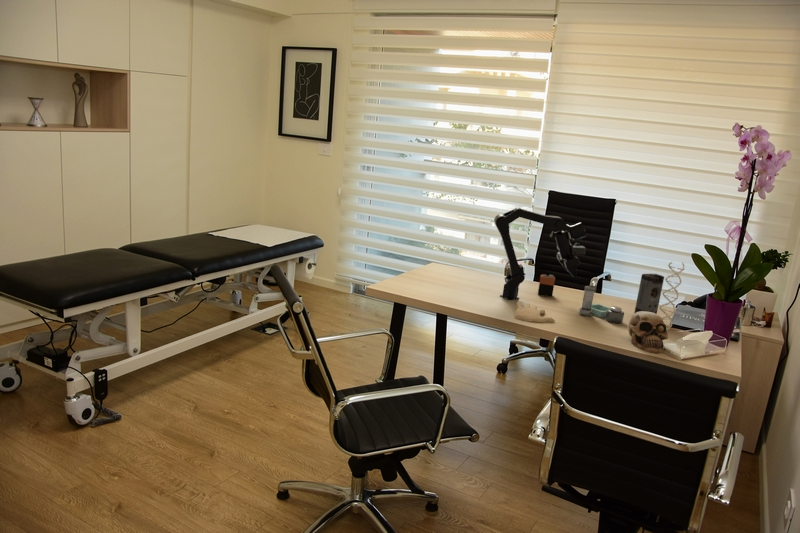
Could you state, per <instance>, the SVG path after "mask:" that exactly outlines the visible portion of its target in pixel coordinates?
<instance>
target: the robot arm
mask: <svg viewBox="0 0 800 533" xmlns="http://www.w3.org/2000/svg"><path fill="white" fill-rule="evenodd" d="M518 218H520V219H521V218H522V219H525V220H528V221H531V222H536V223H539V224H543V225H545V226H547V227H549V228H551V229H552V231H551V233H550V234H549V237H550V238H555V239H554V240H555V241H556V242H555V243H556V249H557V250H558V252H557V253H556V259H557V260H558V262H559V263H560V264H561V266H562V267H563V268H564V269H565V270H566V272H568V274H570V275H571V276H572V277H573V279H577V276H578V274H577V268H578V266H579V265H580V264H581V261H580V258H579V257H577V256H576V255H586V247H585V246H584V245H581V244H580V243H578V242H575V243H574V244H571V241H570V240H573V241H577V240H580V239H583V238H586V237H587V232H586V229H585V228H584V226H583V223H582V222H578V223H575V224H572V225H569V224H566V221H565V219H563V217H560V216H557V215H544V214H541V213H538V212H534V211H531V210H527V209H524V208H521V207H515V208H513V209H511V210H509V211H506V212H504V213H502V214H500V213H499V214H496V216H495V217H494V219H493V222H494V224H495V227H496V229H497V231H498V233H499V234H500V236H501V240H502V243H503V247H504V250H505V254H506V258H507V261H508V270H509V274H508V275H506V276H505V277H504V282H505V283H504V284H503V290H502V294H500V295H499V296H500V297H501V298H504V299H506V300H509V301H510V300H519V299H520V297H518V296H519V290H520V288H519V286H520V284H522V283H523V282H524V281H525V278H526V277H525V276H526V273H525V268H524V266H523V265H522V263H520V264H519V263H518V259H517V256H516V253H515V248H514V245H513V241H512V237H511V234H510V224H512V223H513V222H515V221H516V220H517V219H518ZM553 230H554V231H553Z"/></svg>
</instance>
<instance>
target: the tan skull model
mask: <svg viewBox="0 0 800 533" xmlns="http://www.w3.org/2000/svg"><path fill="white" fill-rule="evenodd" d="M662 318H663V317H662V316H660V314H658V313H657V314H655V313H652V312H646V311H640V312H636V313H635V314H634V313H633V314H632V316H631V317H630V319H629V321H628V322H629V323H628V333H629V336H630V337H631V339H630V342H631V345H633V346H635V347H637V348H639V349H640V350H642V351H646V352H649V353H653V354H661V353H664V350H663V346H664V340H668V339H669V332H668V330H666V329H667V326H666V325H667V324H666V323H665V322H664V320H663V319H662Z"/></svg>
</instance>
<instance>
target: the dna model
mask: <svg viewBox="0 0 800 533" xmlns="http://www.w3.org/2000/svg"><path fill="white" fill-rule="evenodd" d="M671 264H673V261H672V262H669V263H668V265H667V266H668V268H669V270H670V271H672V272H673V273H674V274H672V275H668V276H667V277H665V278H664V281H665V282H666V283H667V285H669V286H670V287H671V288H669V289H667V290H666V289H665V290H664V291H663V292H662V297H664V298H665V299H666V300H667V301H668V302H666V303H664V304H662V305H660V306H659V310H660V311H662V313H663V314H664V315H665V316H663V317H662V319H663V321H664V320H665V319H668V320H669V321H670V325H667V324H665V325H666V330H667V331H668V330H670V329H671V328H672V326H673V320H672V318H671V316H673V315H674V314H675V313H676V306H675V303H674V302H676V301H677V300H678V298H679V292H678V289H677V288H678V287H679V286H680V285H681V284H682V283H683V282H682V279H681V276H680V275H679V274H680V273H682V272H683V271H685V263H684V262H683V261H682V262H681V264H682V268H679V267H677V270H680V271H675V270H674V269H676V267H675V266H671ZM670 278H678V279H679V283H678V282H675V281H674V282H673V281H671V280H668V279H670ZM671 283H674V284H676V285H675V286H673V285H672V284H671ZM670 291H674V292H675V294H676V297H675V296H669V295H667V294H665V293H666V292H670ZM669 298H672V299H673V300H670V299H669ZM668 305H671V306H672V307H673V311H670V310H666V309H664V308H662V307H664V306H668ZM666 311H667V312H670V314H668V313H666Z"/></svg>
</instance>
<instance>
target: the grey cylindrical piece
mask: <svg viewBox="0 0 800 533" xmlns="http://www.w3.org/2000/svg"><path fill="white" fill-rule="evenodd" d="M583 291H584V292H583V297H582V298H583V299H582V302H581V307H580V308H579V313H578V315H579V316H581V317H585V318H587V317H588V318H591V317H592V316H593V315H592V310H591V307H592V304H593V300H594V295H595V291H596V287H594V286H591V285H585V286H584V290H583Z"/></svg>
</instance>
